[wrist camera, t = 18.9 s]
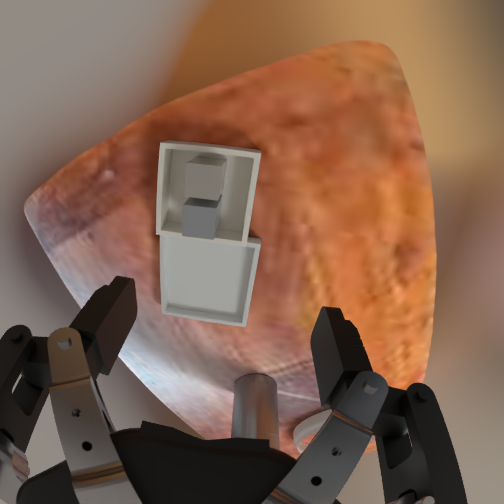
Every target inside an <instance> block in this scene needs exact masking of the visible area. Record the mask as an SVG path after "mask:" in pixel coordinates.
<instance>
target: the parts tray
mask: <svg viewBox="0 0 504 504" xmlns="http://www.w3.org/2000/svg"><path fill="white" fill-rule="evenodd" d="M260 246H261V238H255V237H248V239H247V245H246V247H241V246H234V245H227V244H220V243H213V242H206V241H199V240H192V239H185V238H178V237H171V236H164V235H160V285H161V308H162V314H166V315H171V316H177V317H182V318H188V319H194V320H200V321H207V322H213V323H220V324H227V325H234V326H242V327H246V322H247V317H248V312H249V306H250V301H251V296H252V290H253V285H254V279H255V274H256V268H257V263H258V257H259V252H260Z"/></svg>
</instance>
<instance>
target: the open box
mask: <svg viewBox="0 0 504 504" xmlns="http://www.w3.org/2000/svg"><path fill="white" fill-rule="evenodd" d="M197 156H203V157H213V158H222V159H227V166H226V174H225V182H224V189H223V191H222V193H221V195H223V196H222V207H221V217H220V224H219V227H218V230H217V232H216V235H215V238H214V240H211V239H202V238H194V237H186V236H182V215H183V204H184V203H185V202H186V201H187V199H188V198H189V197H184V187H185V174H186V163H187V162H188V161H190V160H192V159H193V158H195V157H197ZM260 157H261V150H255V149H249V148H241V147H234V146H226V145H217V144H208V143H198V142H186V141H173V140H168V141H165V142H161V143H160V151H159V165H158V181H157V205H156V234H157V235H164V236H171V237H178V238H185V239H192V240H199V241H206V242H213V243H220V244H227V245H234V246H241V247H246V245H247V239H248V232H249V226H250V220H251V213H252V207H253V201H254V194H255V188H256V182H257V176H258V170H259V163H260Z"/></svg>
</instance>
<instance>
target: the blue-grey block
mask: <svg viewBox="0 0 504 504" xmlns="http://www.w3.org/2000/svg"><path fill="white" fill-rule="evenodd" d="M222 196H223V195H220V197H219V199H218V201H217V200H209V199H201V198H192V197H189V198H188V199H187V201H186V202H185V203H184V204H183V215H182V236H186V237H194V238H202V239H211V240H214V238H215V235H216V232H217V230H218V227H219V224H220V217H221V207H222Z"/></svg>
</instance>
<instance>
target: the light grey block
mask: <svg viewBox="0 0 504 504" xmlns="http://www.w3.org/2000/svg"><path fill="white" fill-rule="evenodd" d="M226 166H227V159H222V158H213V157H203V156H197V157H195V158H193V159H192V160H190V161H188V162H187V163H186V174H185V187H184V197H192V198H201V199H209V200H217V201H218V199H219V197H220V195H221V193H222V191H223V189H224V182H225V174H226Z"/></svg>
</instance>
